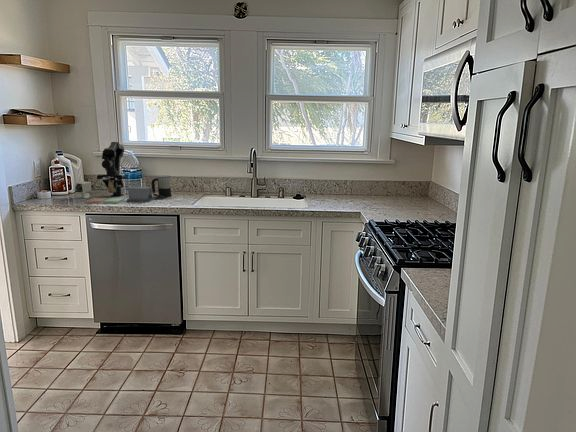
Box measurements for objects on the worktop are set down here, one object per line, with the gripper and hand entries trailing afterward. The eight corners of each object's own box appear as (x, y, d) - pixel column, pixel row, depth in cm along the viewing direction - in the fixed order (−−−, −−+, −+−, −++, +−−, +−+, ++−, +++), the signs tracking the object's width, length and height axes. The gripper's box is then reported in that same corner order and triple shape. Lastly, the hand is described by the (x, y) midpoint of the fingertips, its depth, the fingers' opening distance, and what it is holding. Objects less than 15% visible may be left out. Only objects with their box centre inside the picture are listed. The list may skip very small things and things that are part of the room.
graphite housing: (132, 198, 302) (131, 186, 300) (154, 199, 301) (153, 186, 299) (127, 200, 295) (126, 188, 293) (149, 201, 293) (148, 188, 291)
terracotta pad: (94, 200, 297) (94, 197, 297) (108, 200, 296) (107, 198, 296) (86, 202, 287) (86, 200, 287) (100, 203, 286) (100, 200, 286)
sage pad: (110, 200, 296) (110, 198, 296) (124, 200, 295) (124, 198, 295) (103, 203, 286) (103, 201, 286) (117, 203, 285) (117, 201, 285)
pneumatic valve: (94, 196, 309) (93, 180, 306) (80, 199, 299) (79, 182, 296) (89, 196, 311) (87, 179, 309) (75, 198, 301) (73, 182, 298)
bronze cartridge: (110, 191, 304) (109, 180, 303) (117, 191, 304) (116, 180, 302) (107, 192, 300) (106, 181, 298) (114, 192, 299) (113, 181, 297)
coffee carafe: (170, 194, 319) (169, 175, 316) (174, 198, 306) (173, 177, 302) (150, 196, 314) (149, 176, 310) (154, 199, 300) (152, 178, 296)
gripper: (128, 166, 305) (130, 187, 308) (103, 165, 307) (105, 187, 310) (120, 167, 294) (122, 190, 297) (95, 167, 296) (97, 189, 299)
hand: (112, 189), depth 301 cm, fingers closed on bronze cartridge, 5 cm apart
